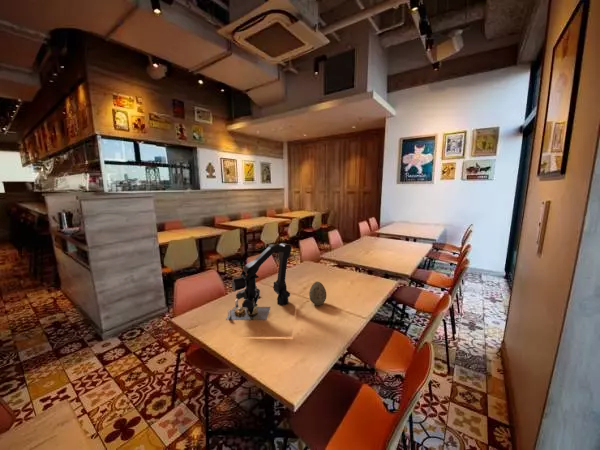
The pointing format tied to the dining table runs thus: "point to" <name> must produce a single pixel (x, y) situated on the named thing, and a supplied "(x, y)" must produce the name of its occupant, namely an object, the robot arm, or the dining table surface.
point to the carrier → (242, 314)
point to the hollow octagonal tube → (253, 309)
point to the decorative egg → (317, 293)
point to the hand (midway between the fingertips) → (252, 311)
